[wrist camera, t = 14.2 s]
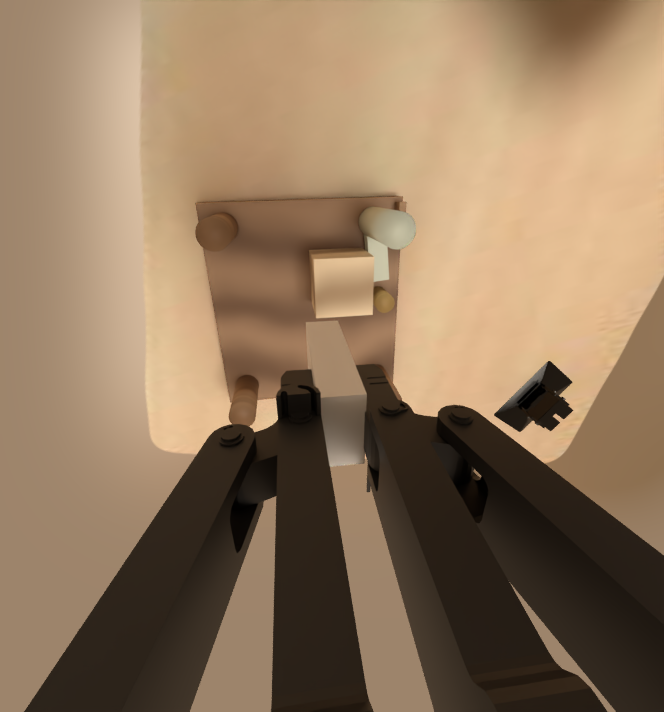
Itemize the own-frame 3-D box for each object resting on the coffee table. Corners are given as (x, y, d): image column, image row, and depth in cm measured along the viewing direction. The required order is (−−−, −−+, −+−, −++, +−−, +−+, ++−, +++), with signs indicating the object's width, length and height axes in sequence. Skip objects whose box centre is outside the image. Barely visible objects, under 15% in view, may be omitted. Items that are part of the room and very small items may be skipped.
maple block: (309, 249, 33) (313, 259, 29) (361, 247, 34) (374, 256, 29) (311, 301, 35) (316, 318, 31) (361, 299, 36) (372, 314, 31)
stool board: (199, 202, 32) (177, 206, 25) (397, 196, 34) (427, 197, 27) (232, 394, 40) (222, 436, 33) (388, 380, 42) (409, 417, 35)
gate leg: (357, 208, 32) (379, 214, 25) (385, 204, 32) (415, 208, 25) (363, 279, 35) (385, 303, 28) (389, 275, 35) (417, 297, 28)
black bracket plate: (512, 439, 50) (534, 462, 45) (479, 417, 47) (498, 438, 43) (582, 373, 46) (612, 391, 42) (550, 345, 44) (578, 361, 40)
